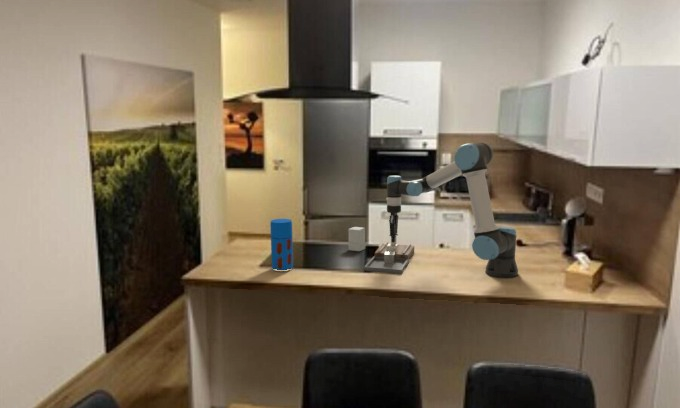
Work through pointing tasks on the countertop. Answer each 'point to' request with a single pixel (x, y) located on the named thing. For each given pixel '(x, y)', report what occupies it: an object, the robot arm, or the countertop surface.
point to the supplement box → (356, 238)
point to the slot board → (403, 252)
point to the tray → (386, 265)
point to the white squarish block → (392, 248)
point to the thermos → (281, 244)
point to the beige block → (389, 257)
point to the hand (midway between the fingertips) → (393, 247)
